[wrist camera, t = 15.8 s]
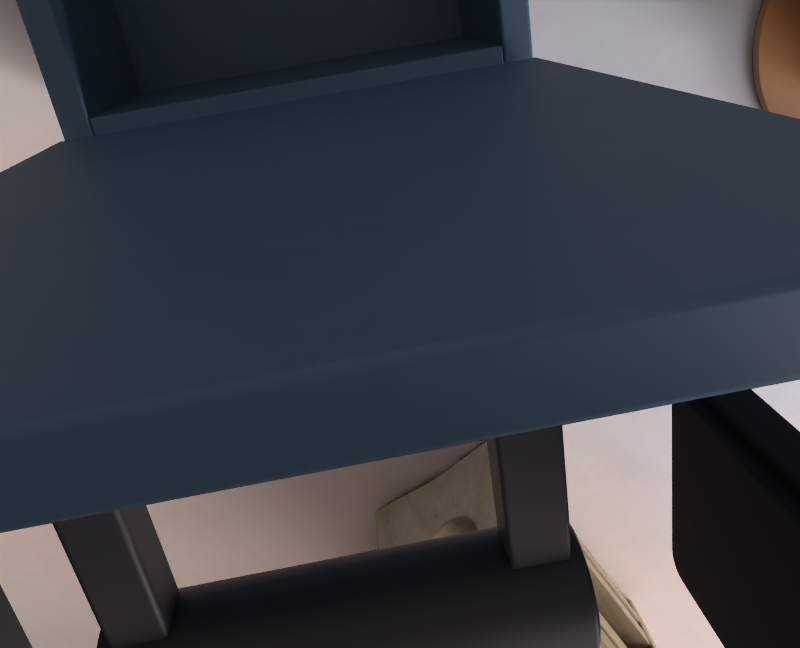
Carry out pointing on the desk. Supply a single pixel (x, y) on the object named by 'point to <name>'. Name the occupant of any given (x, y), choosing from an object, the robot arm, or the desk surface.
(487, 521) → the dollhouse furniture set
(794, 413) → the desk surface
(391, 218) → the lid
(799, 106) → the coaster
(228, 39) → the blue rectangular box
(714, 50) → the desk surface
